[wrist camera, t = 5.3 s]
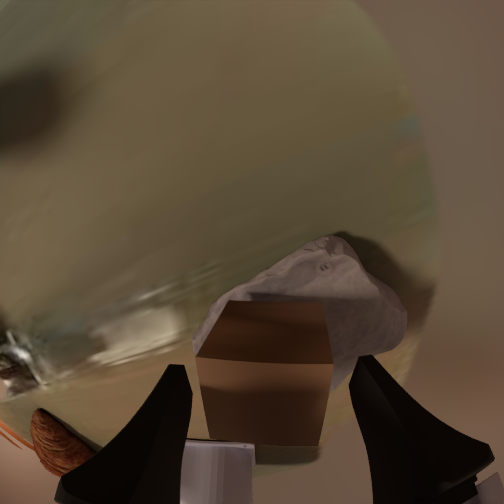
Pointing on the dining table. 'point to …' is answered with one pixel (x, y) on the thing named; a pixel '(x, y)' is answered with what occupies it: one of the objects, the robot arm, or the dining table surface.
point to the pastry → (57, 445)
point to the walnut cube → (266, 373)
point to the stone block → (327, 301)
